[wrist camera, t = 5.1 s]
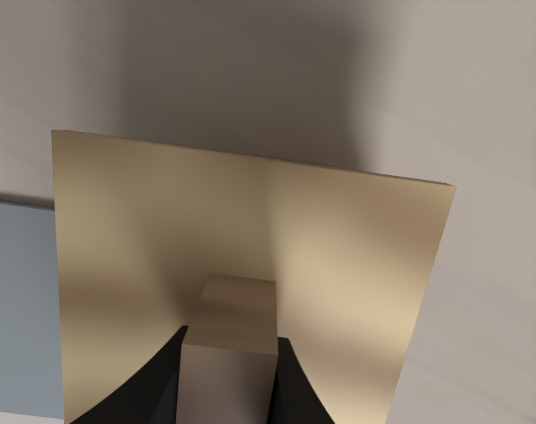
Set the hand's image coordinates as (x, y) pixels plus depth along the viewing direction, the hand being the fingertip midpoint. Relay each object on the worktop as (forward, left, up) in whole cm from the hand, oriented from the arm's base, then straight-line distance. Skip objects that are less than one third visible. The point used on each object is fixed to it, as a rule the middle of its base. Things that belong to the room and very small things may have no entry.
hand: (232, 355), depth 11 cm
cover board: (0, 0, -2) cm, 2 cm away
